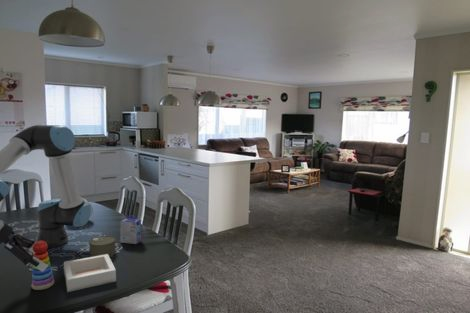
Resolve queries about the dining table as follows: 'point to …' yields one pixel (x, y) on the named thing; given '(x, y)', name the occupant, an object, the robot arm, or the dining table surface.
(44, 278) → the stacking toy
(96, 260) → the walled box
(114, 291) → the dining table surface
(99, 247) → the can
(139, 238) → the ink cartridge box
